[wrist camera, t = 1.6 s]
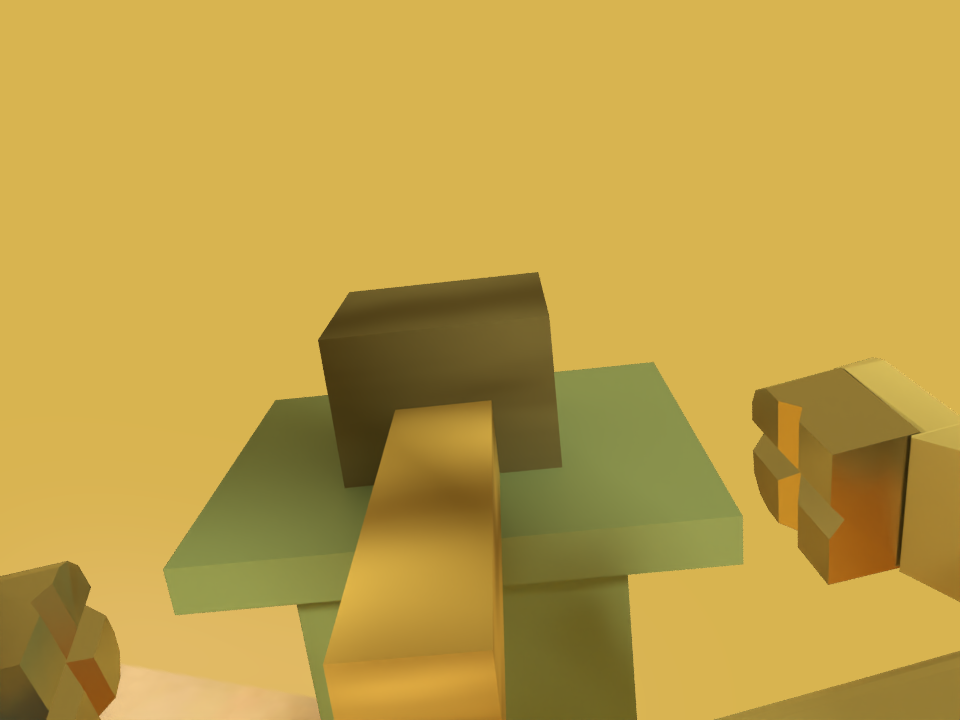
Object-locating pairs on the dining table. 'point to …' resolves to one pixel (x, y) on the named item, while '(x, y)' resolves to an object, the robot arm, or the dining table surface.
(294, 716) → the dining table surface
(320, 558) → the stand
